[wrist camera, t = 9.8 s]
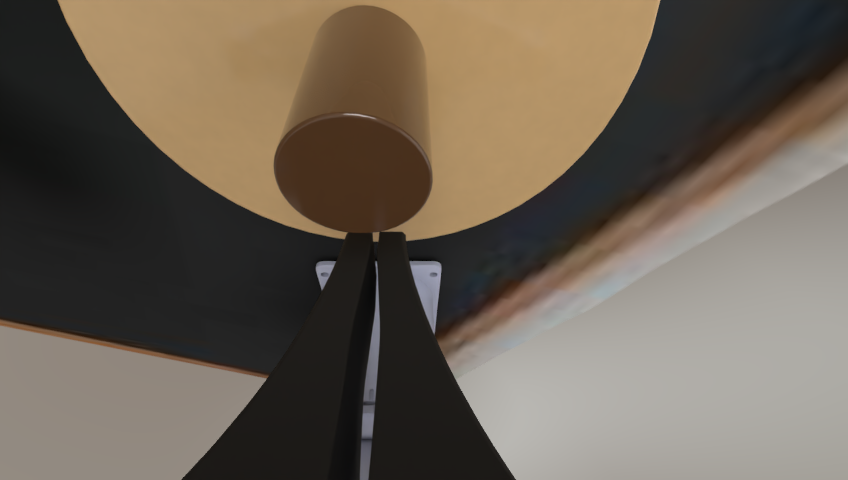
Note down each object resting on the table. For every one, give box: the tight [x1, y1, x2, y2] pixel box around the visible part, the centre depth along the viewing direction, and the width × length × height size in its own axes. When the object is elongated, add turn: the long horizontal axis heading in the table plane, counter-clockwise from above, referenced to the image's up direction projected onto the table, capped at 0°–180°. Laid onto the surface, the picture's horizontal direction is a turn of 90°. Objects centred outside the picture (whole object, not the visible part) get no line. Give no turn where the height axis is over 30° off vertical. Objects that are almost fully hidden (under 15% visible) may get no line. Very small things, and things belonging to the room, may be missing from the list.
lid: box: [58, 0, 660, 242], centre depth 8 cm, size 13×13×5 cm
